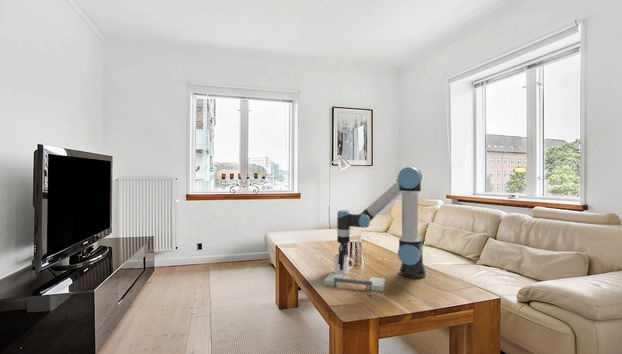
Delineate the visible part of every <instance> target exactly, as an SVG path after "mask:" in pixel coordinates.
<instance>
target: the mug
mask: <svg viewBox="0 0 622 354" xmlns="http://www.w3.org/2000/svg"><path fill="white" fill-rule="evenodd" d="M333 256H334V257H333V259H334V260H333V263H334V266H333V267H334V268H333V269H334V271H333V272H334V274H339V264H338V263H339V253H337V254H334V255H333ZM349 261H351V262H352V264H351V266H349ZM353 267H354V260H353V259H352V258H351V257H349V254H348V255H344V275H343V276H345V275H347V274H349V271H350V270H352V268H353Z"/></svg>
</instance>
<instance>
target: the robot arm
mask: <svg viewBox="0 0 622 354" xmlns="http://www.w3.org/2000/svg"><path fill="white" fill-rule="evenodd" d="M422 174H423V173H422V172H421V170H420V169H419V168H417V167H414V166H406V167H403V168H402V169H400V171H399V172H398V174H397V178H396V182H394V184H392V185H391V187H389V188H388V189H387V190H386V191H385V192H384V193H382V194H381V195H380V196H379V197H378V198H377V199H376V200H374V201H373V202H371V204H370V205H368V206H367V207H366V208H365V209H364V210H363V211H362V212H360V213H358V214H357V213H356V214H354V213H353V214H352V213H351V212H350V211H349V210H347V209H341V210H338V211H337V217H336V220H337V221H336V223H337V227H336V229H337V230H336V232H337V236H336V237H337V238H336V239H337V241H336V242H337V243H340V245H339V247H338V254H339V263H338V264H339V274H343V276H345V275H344V255H348V256H349V243H350V238H351V237H350V234H351V231H350V229H351V227H354V228H362V229H363V228H369V227H370V224H371V221H372V220H373V219H375V218H376V217H377V216H378V215H379V214H380V213H382V212H383V211H385V209H386V208H388V207H389V206H390V205H391V204H393V202H394V201H396V200H397V199H398V198H400V197H401V236H399V238H398V250H397V256H398V259H399V261H400V262H401V265H400V267H399V275H400V276H402V277H405V278H409V279H423V278H426V276H427V273H426V271H427V270H426V268H425V266H424V261H423V259H424V258H423V257H424V255H423V253H424V252H423V251H424V250H423V248H424V246H423V245H424V244H423V243H424V241H423V240H424V239H423V237H421V236H419V230H418V229H419V224H418V223H419V219H418V218H419V194H420V193H421V192H422V183H421V182H422V180H423V175H422Z"/></svg>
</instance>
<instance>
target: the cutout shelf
mask: <svg viewBox="0 0 622 354" xmlns="http://www.w3.org/2000/svg"><path fill="white" fill-rule="evenodd" d="M341 283H346V284H354V285H355V284H356V285H363V286H364V285H365V286H367V288H366V290H368V291H375V292H376V291H377V292H384V289H385V285H386V278H381V277H372V276H371V277H370V278H369V280H361V279H354V278H353V279H352V278H344V275H343V274H335V273H333V272H332V273H330V272H329V274H327V276H326V277H325V278H324V279H323V286H331V287H339V285H340V284H341Z"/></svg>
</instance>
